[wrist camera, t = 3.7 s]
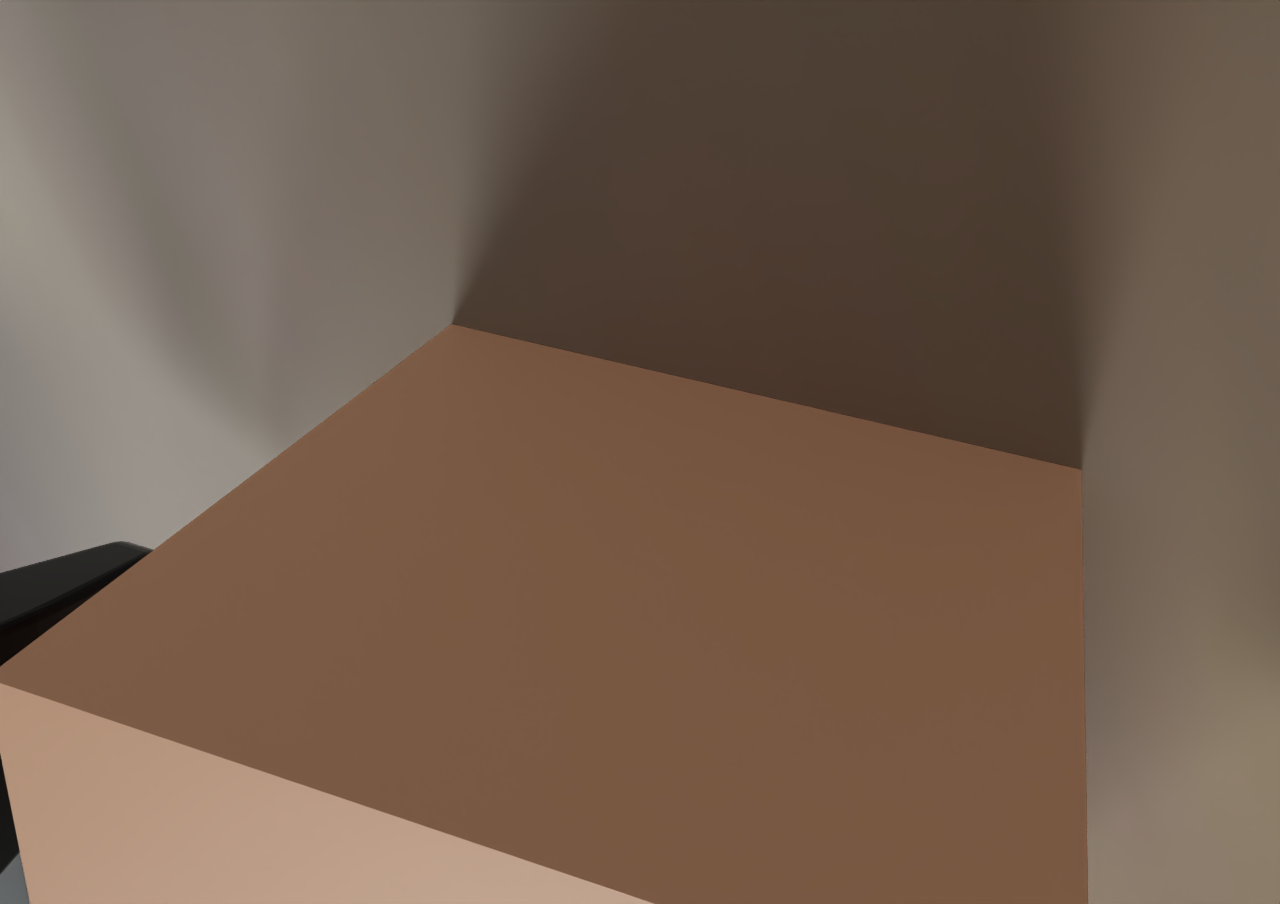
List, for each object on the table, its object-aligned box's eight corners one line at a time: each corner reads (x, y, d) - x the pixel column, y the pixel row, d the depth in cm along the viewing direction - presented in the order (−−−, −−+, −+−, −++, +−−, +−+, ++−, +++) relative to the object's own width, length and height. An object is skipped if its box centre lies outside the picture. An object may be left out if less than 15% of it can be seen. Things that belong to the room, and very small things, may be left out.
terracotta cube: (1080, 465, 9) (1091, 1050, 4) (930, 933, 11) (842, 1605, 7) (456, 320, 10) (-15, 677, 6) (440, 774, 12) (103, 1268, 8)
